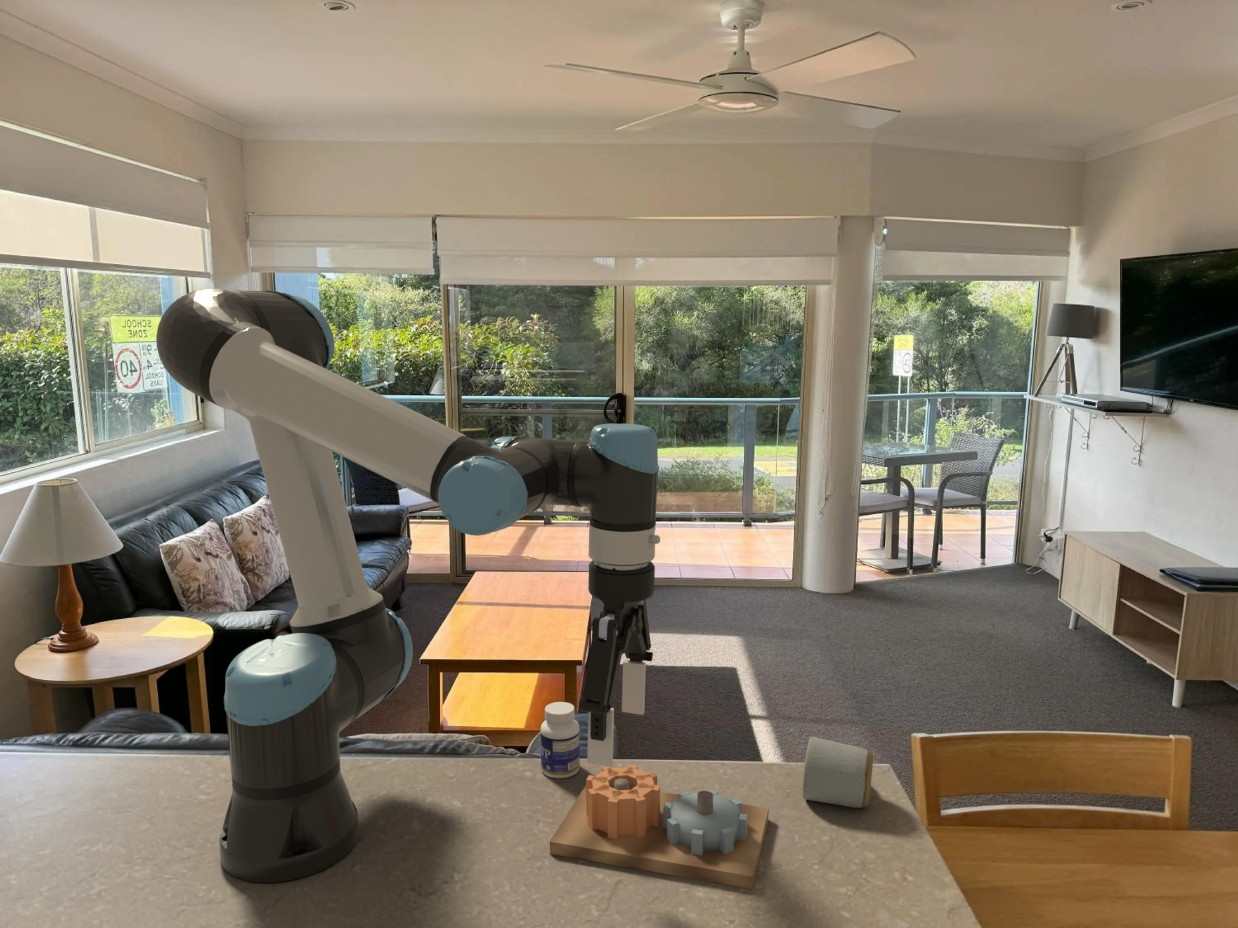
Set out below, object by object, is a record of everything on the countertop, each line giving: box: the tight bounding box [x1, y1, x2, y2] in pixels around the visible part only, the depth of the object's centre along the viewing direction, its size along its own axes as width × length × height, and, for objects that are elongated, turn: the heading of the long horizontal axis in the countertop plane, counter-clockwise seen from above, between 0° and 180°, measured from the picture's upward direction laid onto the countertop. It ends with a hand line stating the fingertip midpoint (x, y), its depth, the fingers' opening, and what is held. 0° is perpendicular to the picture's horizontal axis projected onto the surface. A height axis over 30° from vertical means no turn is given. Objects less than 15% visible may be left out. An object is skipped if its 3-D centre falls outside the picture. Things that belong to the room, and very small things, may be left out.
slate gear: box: [663, 789, 747, 855], centre depth 102 cm, size 10×10×2 cm
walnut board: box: [549, 779, 770, 890], centre depth 104 cm, size 23×14×6 cm, turn 74°
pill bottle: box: [539, 701, 581, 779], centre depth 119 cm, size 5×5×9 cm
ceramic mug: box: [801, 736, 874, 809], centre depth 113 cm, size 11×8×8 cm
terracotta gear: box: [585, 764, 661, 839], centre depth 105 cm, size 9×9×4 cm
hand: (617, 736), depth 104 cm, fingers open, 13 cm apart
